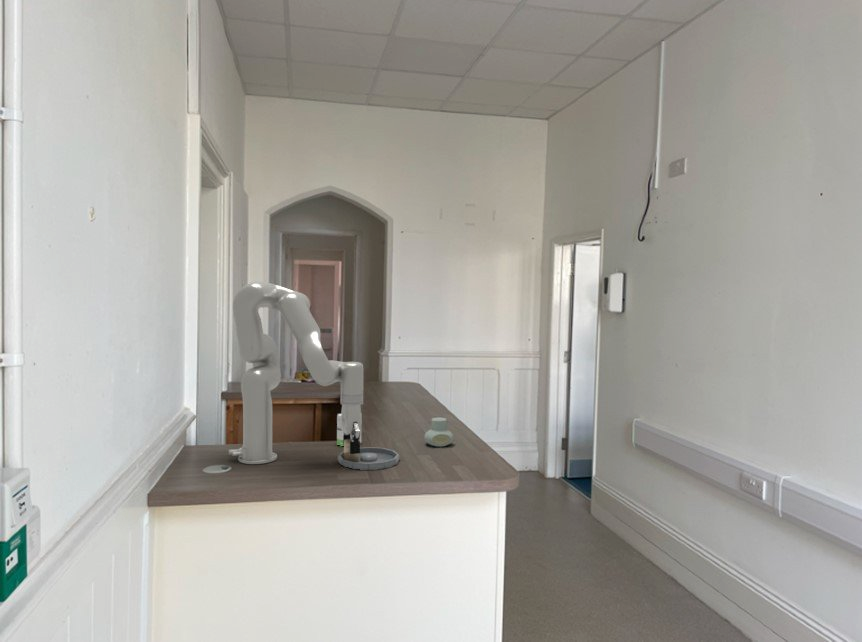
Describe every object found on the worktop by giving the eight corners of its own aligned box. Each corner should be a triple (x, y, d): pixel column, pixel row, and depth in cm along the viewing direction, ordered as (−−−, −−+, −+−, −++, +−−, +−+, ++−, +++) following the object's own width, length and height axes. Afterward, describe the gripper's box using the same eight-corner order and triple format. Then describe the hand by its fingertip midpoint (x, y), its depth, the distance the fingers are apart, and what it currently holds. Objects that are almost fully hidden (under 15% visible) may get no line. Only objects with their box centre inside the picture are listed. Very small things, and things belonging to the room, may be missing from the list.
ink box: (345, 447, 215) (345, 416, 215) (336, 445, 218) (336, 414, 218) (361, 443, 222) (362, 412, 222) (352, 441, 225) (352, 411, 225)
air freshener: (426, 448, 216) (427, 421, 216) (422, 442, 225) (422, 417, 224) (455, 447, 219) (455, 420, 218) (450, 441, 227) (450, 416, 226)
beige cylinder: (345, 463, 193) (345, 442, 193) (342, 459, 197) (342, 439, 197) (360, 462, 195) (360, 441, 194) (356, 458, 199) (356, 438, 199)
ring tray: (346, 472, 185) (346, 465, 185) (333, 456, 204) (333, 450, 204) (406, 466, 193) (406, 460, 192) (388, 451, 211) (388, 445, 211)
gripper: (335, 395, 202) (334, 444, 203) (346, 404, 186) (346, 457, 186) (356, 394, 204) (356, 442, 205) (369, 403, 188) (369, 455, 189)
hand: (351, 449), depth 196 cm, fingers open, 9 cm apart
